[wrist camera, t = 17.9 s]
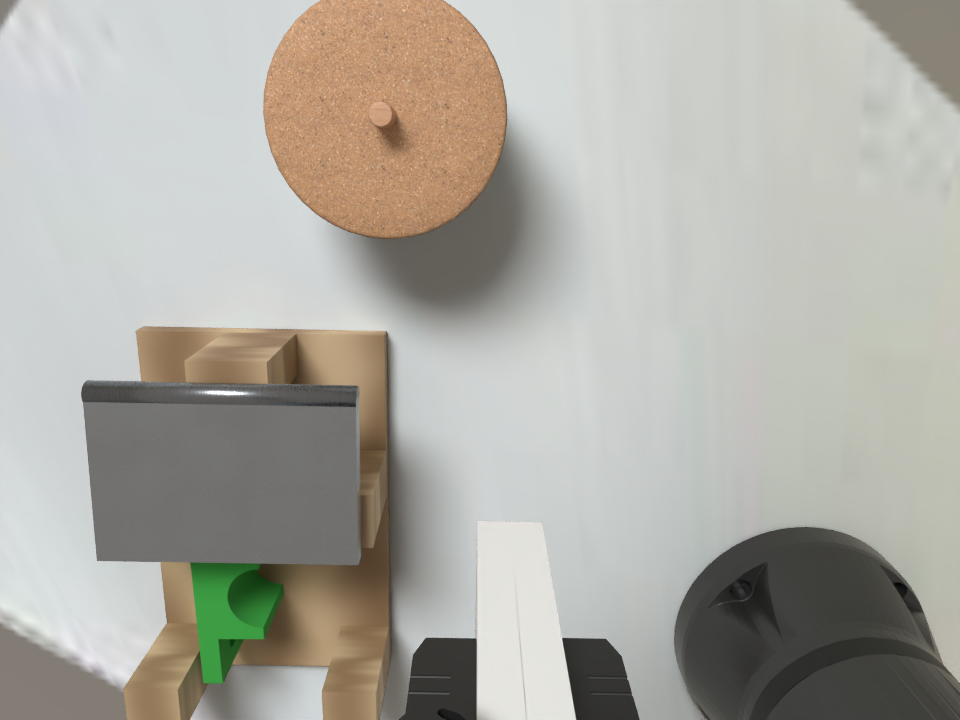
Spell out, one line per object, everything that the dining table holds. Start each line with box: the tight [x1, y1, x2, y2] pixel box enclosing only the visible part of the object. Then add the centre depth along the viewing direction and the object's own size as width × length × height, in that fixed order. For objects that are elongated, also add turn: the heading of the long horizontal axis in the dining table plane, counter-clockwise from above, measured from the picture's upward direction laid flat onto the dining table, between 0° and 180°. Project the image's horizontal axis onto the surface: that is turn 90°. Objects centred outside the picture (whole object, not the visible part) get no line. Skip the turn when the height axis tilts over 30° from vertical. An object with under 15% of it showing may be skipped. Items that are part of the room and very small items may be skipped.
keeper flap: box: [81, 380, 361, 565], centre depth 37 cm, size 13×9×1 cm
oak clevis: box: [123, 327, 391, 720], centre depth 42 cm, size 14×22×7 cm, turn 179°
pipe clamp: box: [190, 562, 284, 683], centre depth 44 cm, size 11×4×5 cm, turn 0°
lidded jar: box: [263, 0, 507, 239], centre depth 35 cm, size 11×11×9 cm
